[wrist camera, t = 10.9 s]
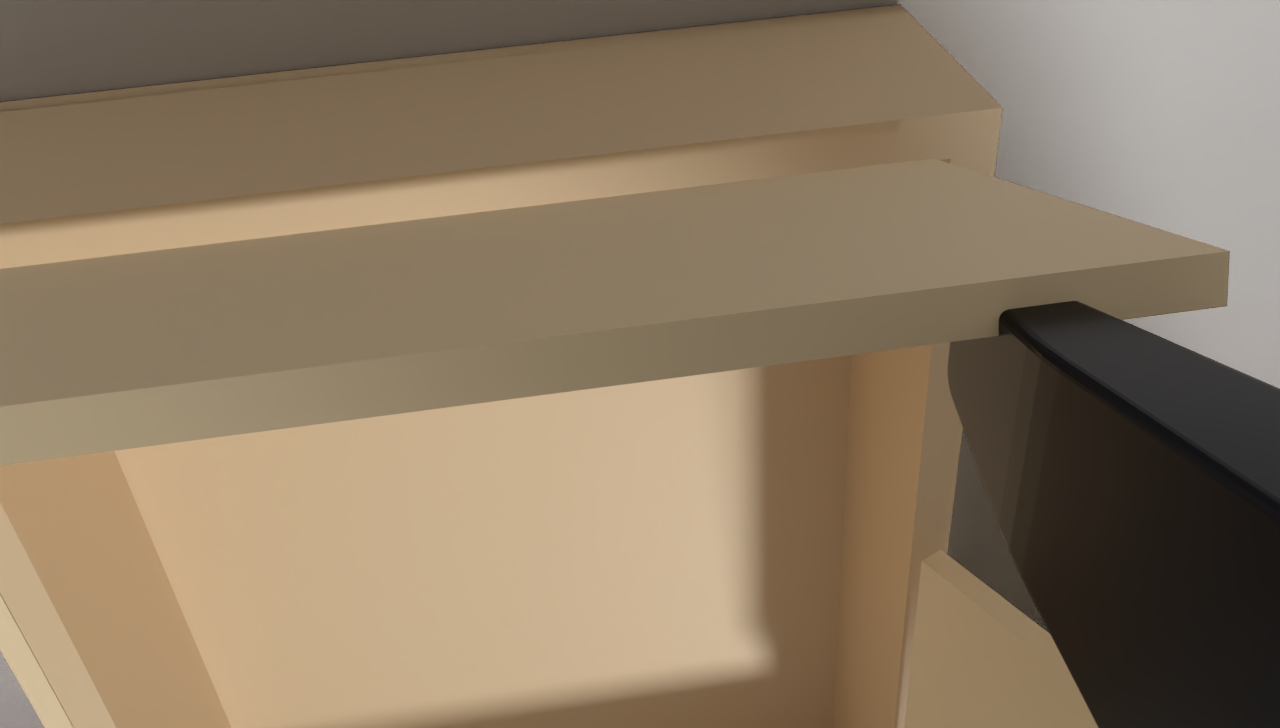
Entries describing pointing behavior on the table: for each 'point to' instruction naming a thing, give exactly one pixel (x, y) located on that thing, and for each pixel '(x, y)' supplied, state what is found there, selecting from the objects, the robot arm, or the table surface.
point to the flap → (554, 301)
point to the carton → (493, 414)
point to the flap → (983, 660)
